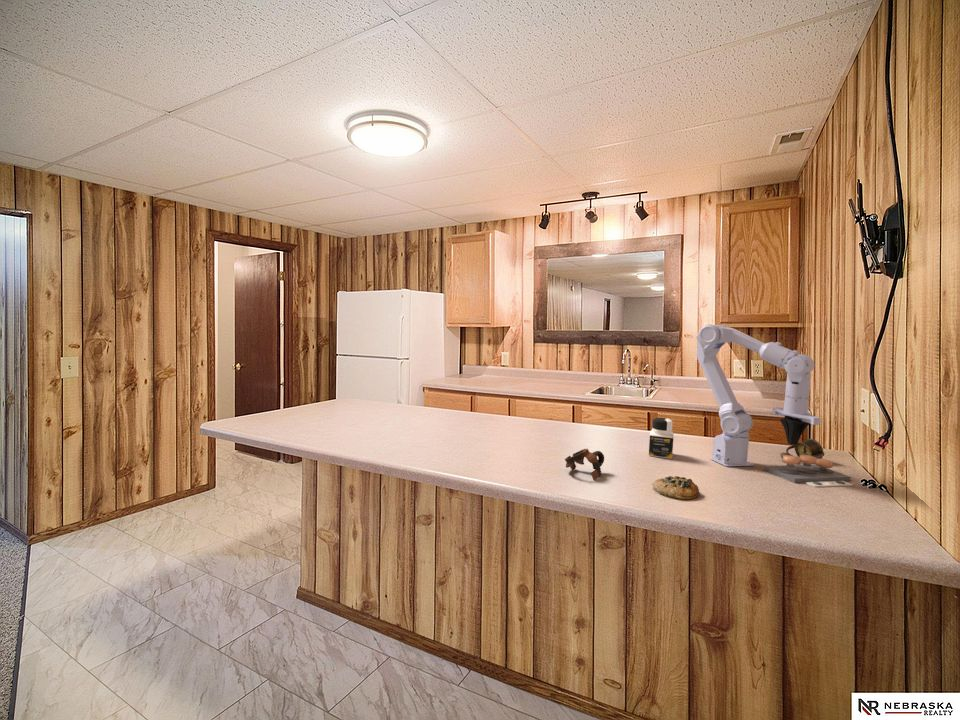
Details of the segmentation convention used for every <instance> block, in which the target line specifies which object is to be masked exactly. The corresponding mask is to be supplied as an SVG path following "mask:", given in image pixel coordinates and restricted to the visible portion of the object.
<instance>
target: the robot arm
mask: <svg viewBox="0 0 960 720" xmlns="http://www.w3.org/2000/svg"><path fill="white" fill-rule="evenodd" d="M695 339H696V341H697V346H696V359H697V360H698V363H699V365H700V367H701V370H702V371H703V372H702V373H703V374H704V376H705V379H706V380H707V383H708V385H709V387H710V390H711V391H712V394H713V395H714V397H715V400H716V403H717V404H718V406H719V411H718V416H719V419H720V428H721V430H722V433H721V434H718V435H715V437H713V440H712V454H711V457H710V460H711V461H714V462H715V463H719V464H720V465H723V466H724V467H751V466H752V467H754V465H755V463H752V462H750V461H748V455H749V441H750V433H749V431H750V430H751V429H752V427H753V425H754V421H753V417H752V416H751V415H750V414H749V413H748V412H747V411H746V410H745V408H744V406H743V405H741V404H740V403H739V402H738V400H737V398H736V396H735V394H734V391H733V389H732V388H731V385H730V383H729V381H728V379H727V377H726V375H725V373H724V372H725V371H724V370H723V368H722V366H721V364H720V362H719V360H718V357H717V356H718V353H719V352H720V350H721V348H722V347H723V346H725V344H726V343H734V344H736V345H739V346H741V347H744V348H746V349H749V350H751V351H753V352H756V353H758V354H759V357H760V359H761V360H763V361H765V362H768V363H770V364H771V365H773V366H776V367H777V368H780V369H782V370H785V372H786V373H787V374H786V380H785V393H784V402H783V403H784V405H783V407H772V411H771V412H772V415H778V416H782V417H783V418H780V419H779V420H780V421H779V422H780V423H781V425H782V427H783V429H784V432H785V435H786V441H787V444H789V445H790V446H792V445H797V444H798V443H799V442H800V441H799V440H800V438H801V437H802V435H803V432H804V431H805V430H806V429H807V427H808V426H809V425H813V426H819V425H820V424H821V417H818V416H815V415H812V414H810V412H809V401H810V392H811V391H810V390H811V374H812V373H811V372H812V371H814V369H815V362H814V359H813V358H812V357H811V356H809V355H807V353H806V354H805V353H801V354H799V350H791V349H789V348H788V347H785V346H783V345H782V343H781V342H779V341H776V342H774V341H770V342H767V343H765V342H763V341H761V340H759V339H756V338H754V337H752V336H751V335H748V334H746V333H744V332H742V331H740V330H738V329H736V328H733V327H730V326H729V327H728V326H726V325H724V324H705V325H702V326H701V328H699V331H698V332H697V334H696V336H695Z"/></svg>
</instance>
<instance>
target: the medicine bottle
mask: <svg viewBox="0 0 960 720" xmlns="http://www.w3.org/2000/svg"><path fill="white" fill-rule="evenodd" d="M673 423H674V422H673V420H672V419H670V418H666V417H655V418H653V419H652V426H651V427H652V429H651V430H650V432H649V441H648V457H654V458H655V457H656V458H662V459H663V458H664V459H669V460H670V459H671V460H672V459H673V453H674V452H673V450H674V436H675V434H674V432H673Z"/></svg>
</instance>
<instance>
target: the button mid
mask: <svg viewBox="0 0 960 720" xmlns="http://www.w3.org/2000/svg"><path fill="white" fill-rule="evenodd" d="M798 458H800V459H799V463H802V465H804V466H808V467H810V466H811V465H815V464H816V457H813V456H809V455H800V457H798Z"/></svg>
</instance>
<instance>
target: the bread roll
mask: <svg viewBox="0 0 960 720" xmlns="http://www.w3.org/2000/svg"><path fill="white" fill-rule="evenodd" d="M651 485H652V489H653V490H652V491H654V492H656V493H657V494H659V495H662V496H664V497H667V498H673V499H674V498H676V499H677V500H682V501H686V500H687V501H690V500H694V499H696V498H698V496H699V495H700V490H699V486H698V485H697V484H696V483H695V482H693V480H692V478H686V477H685V476H682V477H680V476H678V475H675V476H672V475H669V476H665V477H664V478H663V477H662V478H657V479H656V480H655V481H653V483H652V484H651Z"/></svg>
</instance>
